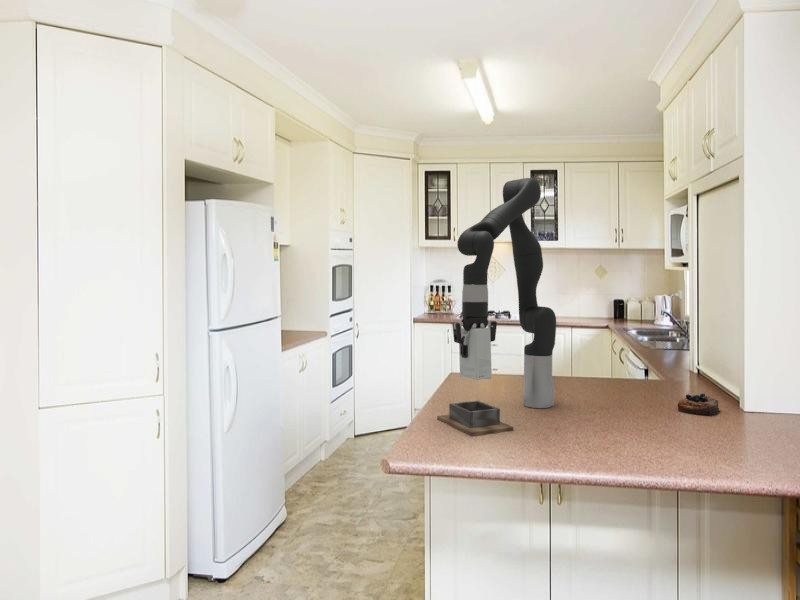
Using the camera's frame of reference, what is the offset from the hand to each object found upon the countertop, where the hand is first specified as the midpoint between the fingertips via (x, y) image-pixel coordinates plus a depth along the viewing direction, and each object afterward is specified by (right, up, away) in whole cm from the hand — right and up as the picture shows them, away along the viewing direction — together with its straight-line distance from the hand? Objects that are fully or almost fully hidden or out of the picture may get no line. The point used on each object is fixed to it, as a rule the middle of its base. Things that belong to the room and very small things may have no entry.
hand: (474, 356), depth 176 cm
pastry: (+74, -20, +17) cm, 79 cm away
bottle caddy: (0, -20, +1) cm, 20 cm away
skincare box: (0, -6, 0) cm, 6 cm away
